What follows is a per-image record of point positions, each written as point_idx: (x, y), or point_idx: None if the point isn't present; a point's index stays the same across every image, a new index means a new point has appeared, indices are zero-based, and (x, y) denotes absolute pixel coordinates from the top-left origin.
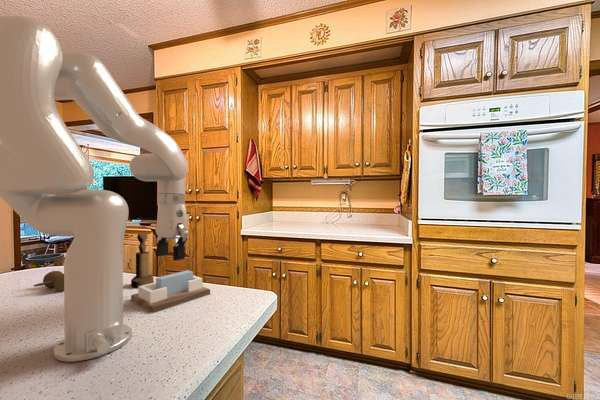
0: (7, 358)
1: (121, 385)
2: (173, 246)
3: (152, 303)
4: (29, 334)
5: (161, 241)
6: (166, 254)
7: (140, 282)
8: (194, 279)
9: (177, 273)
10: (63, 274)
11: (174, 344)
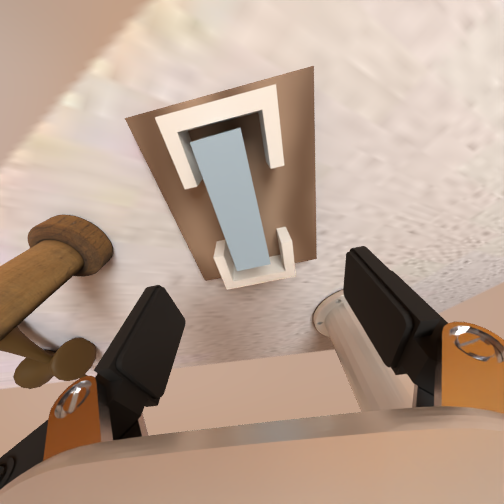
0: (310, 351)
1: (459, 297)
2: (399, 373)
3: (294, 256)
4: (263, 348)
5: (137, 410)
6: (165, 293)
7: (103, 258)
8: (267, 130)
9: (225, 204)
10: (67, 378)
11: (455, 247)
